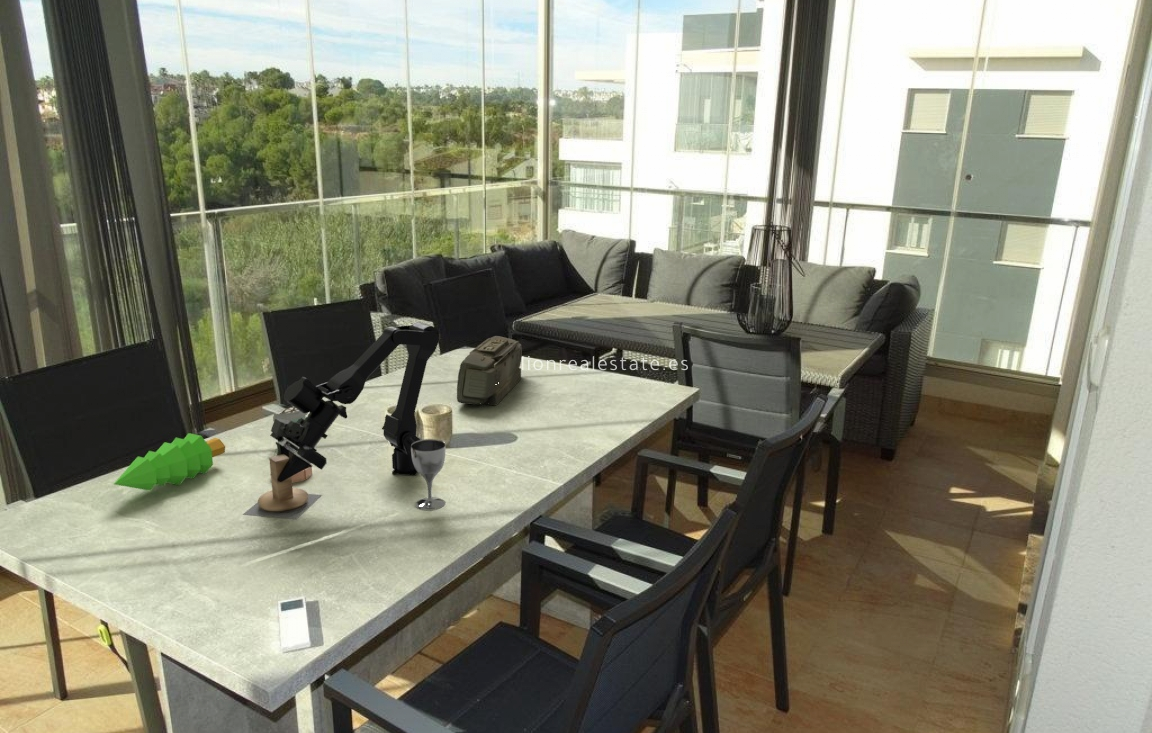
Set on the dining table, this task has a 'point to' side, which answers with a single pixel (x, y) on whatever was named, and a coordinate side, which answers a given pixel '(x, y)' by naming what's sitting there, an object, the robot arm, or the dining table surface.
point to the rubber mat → (286, 514)
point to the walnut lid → (281, 489)
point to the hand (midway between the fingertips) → (275, 478)
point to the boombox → (489, 371)
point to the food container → (290, 415)
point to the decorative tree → (172, 462)
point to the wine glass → (428, 468)
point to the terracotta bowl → (302, 475)
